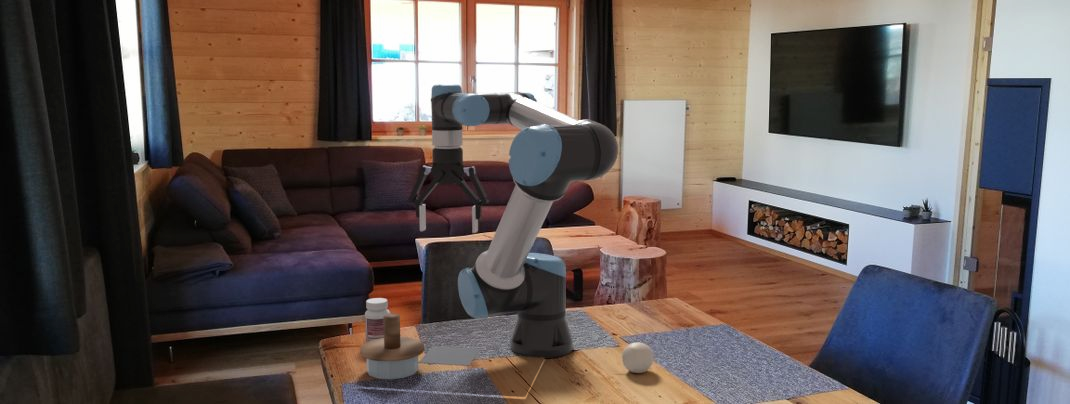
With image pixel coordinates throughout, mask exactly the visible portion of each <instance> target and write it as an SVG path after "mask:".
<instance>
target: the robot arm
mask: <svg viewBox="0 0 1070 404" xmlns="http://www.w3.org/2000/svg"><path fill="white" fill-rule="evenodd" d="M462 90H463V89H462V86H461V85H460V84H456V83H455V84H449V83H448V84H443V83H442V84H434V85H433V86H432V87H431V97H430V105H431V107H430V108H431V145H432V146H433V148H432V150H431V151H432V152H431V154H432V157H431V158H432V166H427V165H425V164H424V165H422V166H420V168H419V176H418V177H417V180H416V182H415V184H414V186H413V188H412V191H410V192H411V193H410V195H409V197H408V198H407V199H408V201H407V202H408V203H412V204H414V205H415V216H416V218H418V219H419V231H420V232H424V231H426V230H427V221H426V220H427V216H426V215H427V214H426V213H427V211H426V210H427V209H426V203H424V202H425V200H426V199H427V198H428V196H429V195H430V194H431V193H432V192H433V190H434V189H435V188H436V187H437V185H439V184H440V185H451V186H453V185H455V184H456V185H457V186H458V187H459V188H460V189H461V190H462V192H463V193H464V194H465V196H467V197H468V199H469V200H470V201H471V202H472V204H473V206H472V207H471V218H472V219H471V220H472V221H471V222H472V223H471V225H472V231H471V232H472V234H476V233H478V232H479V221H478V220H481V219H482V217H483V215H482V210H483V208H482V206H484V205H486V204H488V203H489V202H490V200H489V198H488V196H487V193H486V190H485V189H484V188H483V185H482V184H481V181H480V179H479V177H478V175H477V169H476V166H474V165H473V166H470V167H465V166H464V158H463V157H464V154H463V153H464V149H463V148H462V146H463V143H464V142H463V141H464V140H463V139H464V138H463V126H466V127H478V126H482V125H502V124H503V125H511V126H512V127H515V128H516V129H519V130H520V131H519V132H518V133H517V134H516V135H515V136H514V138H513V140H512V141H511V144H510V147H509V152H508V156H510V157H509V159H508V167H509V171H510V174H511V176H512V180H513V183H514V184H515V185H514V187H513V191H512V192H511V195H510V197H509V200H508V201H507V204H506V207H505V209H504V212H503V215H502V216H501V219H500V221H499V224H498V226H497V228H496V230H495V232H494V235H493V238H492V240H491V242H490V244H489V247H488V249H487V250H485V251H483V252H481V253H480V254H479V255H478V257H476V261H475V263H474V265H473V266H472V267H466V268H463V269H462V270H460V272H459V273H458V278H457V289H458V294H459V295H458V296H459V298H460V299H459V300H460V301H461V302H460V303H461V304H462V307H463V309H464V310H465V312H466V314H467V315H468V316H470V317H471V318H474V319H479V318H486V319H487V318H490V317H496V316H500V315H505V314H513V313H516V314H517V318H516V321H515V324H514V328H513V331H512V334H511V336H510V340H509V341H510V343H509V344H510V346H509V347H510V350H511V351H512V352H513V353H515V354H518V355H521V356H524V357H531V358H544V359H551V358H552V359H554V358H559V357H562V356H563V357H564V356H566V355H568V354H570V353H572V351H573V349H574V348H573V346H574V345H573V343H574V341H573V337H572V334H571V330H570V327H569V324H568V321H567V317H566V316H567V315H566V312H567V311H566V308H567V307H566V301H567V300H566V299H567V298H566V295H567V293H566V289H567V288H566V286H567V285H566V283H567V281H566V279H567V276H568V275H567V271H566V270H567V269H566V263H565V261H564V260H563V259H562V258H560V257H559V256H555V255H551V254H546V253H538V252H537V253H536V252H531V250H532V247H533V245H534V243H535V241H536V239H537V237H538V235H539V232H540V230H541V229H542V226H543V224H544V222H545V220H546V218H547V216H548V214H549V211H550V209H551V208H552V205H553V203H554V202H556V201H557V202H558V201H559V200H561V199H562V198H563V197H564V196H565V195H566V193H567V191H568V188H569V186H570V185H571V183H574V182H584V181H593V180H596V179H599V178H601V177H603V176H604V175H606V174H608V172H610V171H611V170H612V168H613V167H614V166H615V164H616V161H617V159H618V157H619V156H618V155H619V146H618V145H619V144H618V141H617V138H616V136H615V134H614V132H613V131H612V130H611V129H610V128H608V127H607V126H606V125H604V124H603V123H599V122H598V121H594V120H593V119H586V118H585V119H581V120H580V119H577V118H575V117H573V116H571V115H568V114H567V113H566V114H565V113H563V112H561V111H559V110H556V109H554V108H551V107H549V106H547V105H545V104H542V103H540V102H538V101H537V98H535V96H534V94H532V93H530V92H522V91H516V92H470V93H469V92H468V93H467V92H466V93H465V92H463V91H462ZM430 173H431V174H432V175H433V178H432V180H431V182H430V183H429V184H428V186H427V187H426V188H425V189H424V191H422V193H421V194H420V195H419V193H420V191H421V189H422V188H423V187H422V186H423V185H424V182H425V180H426V179H427V176H429V174H430ZM464 174H466V176H468V177H469V179H470V181H471V183H472V186H473V187H474V189H475V191H476V193H477V194H476V193H475V192H474V191H473V189H472V188H471V187H470V185H468V184H467V182H466V180H465V179H464V177H463V176H464ZM418 195H419V196H418ZM417 197H418V198H417Z"/></svg>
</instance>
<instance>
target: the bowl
mask: <svg viewBox="0 0 1070 404" xmlns="http://www.w3.org/2000/svg"><path fill="white" fill-rule="evenodd" d="M418 362H419V356H417V357H414V358H411V359H407V360H401V361H374V360H370V359H367V358H366V372H367V374H368V376H370V377H373V378H375V379H379V380H397V379H398V380H399V379H405V378H408V377H411V376H414V375H415V374H416V373H417V372H418V371H419V363H418Z"/></svg>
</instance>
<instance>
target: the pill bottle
mask: <svg viewBox="0 0 1070 404" xmlns="http://www.w3.org/2000/svg"><path fill="white" fill-rule="evenodd" d="M388 303H389V302H388V298H383V297H375V298H374V297H372V298H368V299H367V300H366V301H365V305H366V306H365V308H366V309H367V310H366V311H365V313H364V326H365V327H364V329H365V330H364V331H365V334H364V336H365V343H366V342H369V341H372V340H375V339H380V338H384V321H383V316H384V315H387V314H391V312H390V310H389V309H387V308H388V307H389V304H388Z"/></svg>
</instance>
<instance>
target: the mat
mask: <svg viewBox="0 0 1070 404" xmlns="http://www.w3.org/2000/svg"><path fill="white" fill-rule="evenodd" d="M481 350H482V348H475V347H474V348H472V347H457V346H456V347H455V346H453V347H451V346H440V345H438V346H437V345H435V346H434V345H433V346H431V348H430V349H429V350H428V351H427V352H426V353H425V355H424V356H423V357H422V358H421V359H420V360H418V364H429V365H430V364H431V365H433V364H434V365H446V366H447V365H448V366H449V365H450V366H466V367H467V366H468V367H469V366H470V365H471V364H472V362H473V361H474V360H475V359H476V357H477V355H478V354H479V353H480V352H481Z"/></svg>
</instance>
